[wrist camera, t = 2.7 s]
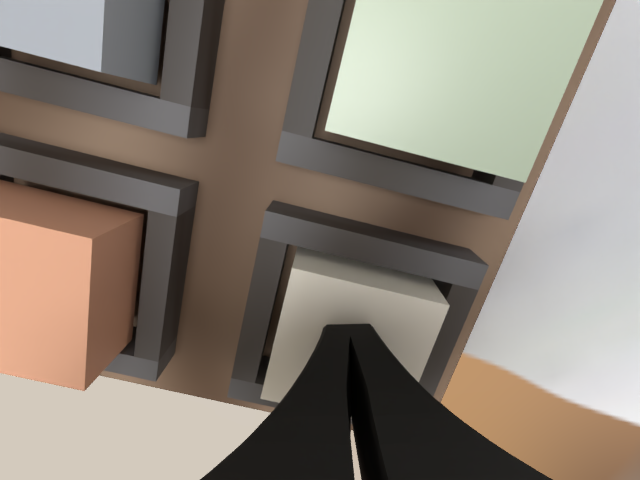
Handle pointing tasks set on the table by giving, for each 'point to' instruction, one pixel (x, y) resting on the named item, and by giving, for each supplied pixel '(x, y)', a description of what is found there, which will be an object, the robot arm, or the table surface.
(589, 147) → the table surface
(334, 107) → the key sage
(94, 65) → the key slate
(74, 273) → the key terracotta
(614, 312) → the table surface
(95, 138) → the keypad
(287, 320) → the key cream
